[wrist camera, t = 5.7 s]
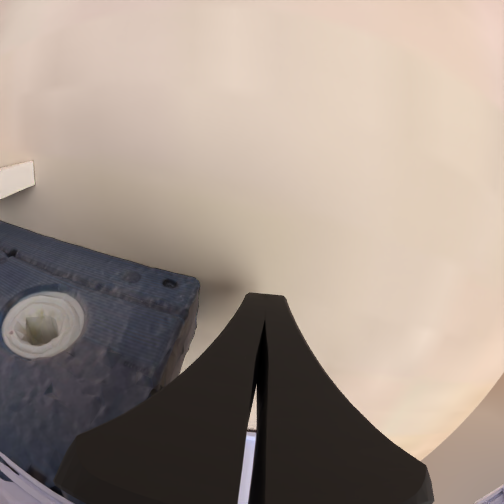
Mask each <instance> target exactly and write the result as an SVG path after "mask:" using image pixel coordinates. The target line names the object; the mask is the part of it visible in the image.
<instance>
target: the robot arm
mask: <svg viewBox="0 0 504 504" xmlns="http://www.w3.org/2000/svg"><path fill="white" fill-rule="evenodd" d="M256 384H257V429H256V432H247V427H248V421H249V417H250V412H251V408H252V403H253V398H254V394H255V389H256ZM0 456H1V457H2V458H3V459H4V460H5V462H6V463H7V464H8V465H9V466H10V467H12V468H13V469H14V470H15V471H16V472H18V473H19V475H17V474H16V473H14V472H13V471H12V470H11V469H10V468H9V467H8V466H6V465H4V464H3V463H1V462H0V470H1V471H2V472H3V473H4V474H5V475H6V476H7V477H8V478H10V479H11V480H12V481H13V482H9V481H4V480H2V479H1V478H0V504H74V503H73V502H71V501H69V500H67V499H66V498H64V497H62V496H60V495H59V494H57V493H55V492H54V491H52V490H51V489H49V488H48V487H46V486H45V485H43V484H42V483H40V482H39V481H38V480H36V479H35V478H33V477H32V476H31V475H29V474H28V473H26V472H25V471H24V470H22V469H21V468H20V467H19V466H17V465H16V464H15V463H14V462H12V461H11V460H10V459H9V458H8V457H6V456H5V455H4V454H3V453H1V452H0ZM53 482H54V484H55V486H56V487H58V488H60V489H61V490H63V491H64V492H66V493H68V494H69V495H71V496H73V497H75V498H77V499H78V500H80V501H82V502H84V503H86V504H432V503H433V502H434V496H433V490H432V484H431V479H430V476H429V473H428V470H427V467H426V465H425V464H423V463H422V462H420V461H419V460H417V459H416V458H414V457H413V456H411V455H410V454H408V453H407V452H405V451H404V450H403V449H401V448H400V447H398V446H397V445H396V444H394V443H393V442H392V441H390V440H389V439H388V438H387V437H386V436H385V435H383V434H382V433H381V432H380V431H379V430H378V429H376V428H375V427H374V426H373V425H372V424H371V423H370V422H369V421H368V420H367V419H366V418H365V417H364V416H363V415H362V414H361V413H360V412H359V411H358V410H357V409H356V408H355V407H354V406H353V405H352V404H351V403H350V402H349V401H348V399H347V398H346V397H345V396H344V395H343V394H342V392H341V391H340V390H339V389H338V388H337V386H336V385H335V384H334V383H333V381H332V380H331V379H330V377H329V376H328V375H327V373H326V372H325V371H324V369H323V368H322V366H321V365H320V363H319V362H318V360H317V359H316V357H315V356H314V354H313V352H312V351H311V349H310V348H309V346H308V344H307V342H306V341H305V339H304V337H303V335H302V333H301V331H300V330H299V328H298V326H297V324H296V322H295V319H294V317H293V315H292V313H291V311H290V308H289V306H288V303H287V300H286V298H285V297H284V296H282V295H271V294H260V293H250V292H249V293H248V294H246V295H245V298H244V300H243V302H242V304H241V305H240V307H239V309H238V310H237V312H236V313H235V315H234V316H233V318H232V319H231V320H230V322H229V323H228V324H227V326H226V327H225V328H224V330H223V331H222V332H221V334H220V335H219V336H218V337H217V338H216V339H215V340H214V342H213V343H212V344H211V345H210V346H209V347H208V348H207V349H206V351H205V352H204V353H203V354H202V355H201V356H200V357H199V358H198V359H197V360H196V361H195V362H194V363H192V364H191V365H190V366H189V367H188V368H187V369H186V370H185V371H184V372H183V373H181V374H180V375H179V376H178V377H176V378H175V379H174V380H173V381H171V382H170V383H169V384H168V385H166V386H165V387H164V388H162V389H161V390H160V391H158V392H157V393H155V394H154V395H153V396H151V397H150V398H148V399H146V400H145V401H143V402H142V403H140V404H138V405H137V406H135V407H133V408H132V409H130V410H129V411H127V412H125V413H123V414H122V415H120V416H118V417H116V418H114V419H112V420H110V421H108V422H106V423H103V424H101V425H99V426H97V427H95V428H93V429H90V430H88V431H86V432H83V433H81V434H79V435H77V436H76V437H75V439H74V441H73V442H72V444H71V445H70V446H69V448H68V450H67V452H66V453H65V455H64V458H63V460H62V462H61V464H60V466H59V469H58V471H57V473H56V475H55V478H54V480H53ZM474 504H504V484H503V485H502V486H500V487H499V488H497V489H495V490H494V491H492V492H491V493H489V494H487V495H485V496H484V497H482V498H481V499H479V500H477V501H475V502H474Z"/></svg>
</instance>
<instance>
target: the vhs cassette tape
mask: <svg viewBox="0 0 504 504" xmlns="http://www.w3.org/2000/svg"><path fill="white" fill-rule="evenodd" d="M199 289H200V284H199V281H198V280H197V279H196V278H194V277H190V276H185V275H181V274H176V273H172V272H168V271H165V270H161V269H157V268H149V267H147V266H144V265H141V264H138V263H134V262H131V261H127V260H124V259H120V258H116V257H113V256H109V255H106V254H103V253H99V252H96V251H93V250H89V249H86V248H83V247H80V246H76V245H73V244H69V243H65V242H62V241H58V240H56V239H54V238H50V237H46V236H42V235H39V234H36V233H34V232H31V231H29V230H26V229H23V228H20V227H17V226H14V225H11V224H8V223H5V222H2V221H0V452H1V453H3V454H4V455H5V456H6V457H8V458H9V459H10V460H11V461H12V462H14V463H15V464H16V465H17V466H19V467H20V468H21V469H22V470H24V471H25V472H26V473H28V474H29V475H31V476H32V477H33V478H35V479H36V480H38V481H39V482H40V483H42V484H43V485H45V486H46V487H48V488H49V489H51V490H52V491H54V492H55V493H57V494H59V495H60V496H62V497H64V498H66V499H67V500H69V501H71V502H73V503H74V504H86V503H84V502H82V501H80V500H78V499H77V498H75V497H73V496H71V495H69V494H68V493H66V492H64V491H63V490H61V489H60V488H58V487H56V486H55V484H54V482H53V480H54V478H55V475H56V473H57V471H58V469H59V466H60V464H61V462H62V460H63V458H64V455H65V453H66V452H67V450H68V448H69V446H70V445H71V444H72V442H73V441H74V439H75V437H76V436H77V435H79V434H81V433H83V432H86V431H88V430H90V429H93V428H95V427H97V426H99V425H101V424H103V423H106V422H108V421H110V420H112V419H114V418H116V417H118V416H120V415H122V414H123V413H125V412H127V411H129V410H130V409H132V408H133V407H135V406H137V405H138V404H140V403H142V402H143V401H145V400H146V399H148V398H150V397H151V396H153V395H154V394H155V393H157V392H158V391H160V390H161V389H162V388H164V387H165V386H166V385H168V384H169V383H170V382H171V381H173V380H174V379H175V378H176V377H178V376H179V373H180V370H181V366H182V363H183V360H184V357H185V354H186V353H187V352H188V350H189V346H190V343H191V341H192V339H193V337H194V334H195V329H196V328H197V324H196V316H197V311H198V307H199ZM0 462H1V463H3V464H4V465H6V466H8V467H9V468H10V469H11V470H12V471H13V472H14V473H16V474H17V475H19V473H18V472H16V471H15V470H14V469H13V468H12V467H10V466H9V465H8V464H7V463H6V462H5V460H4V459H3V458H2V457H1V456H0ZM0 478H1V479H2V480H4V481H9V482H13V481H12V480H11V479H10V478H8V477H7V476H6V475H5V474H4V473H3V472H2V471H1V470H0Z"/></svg>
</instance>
